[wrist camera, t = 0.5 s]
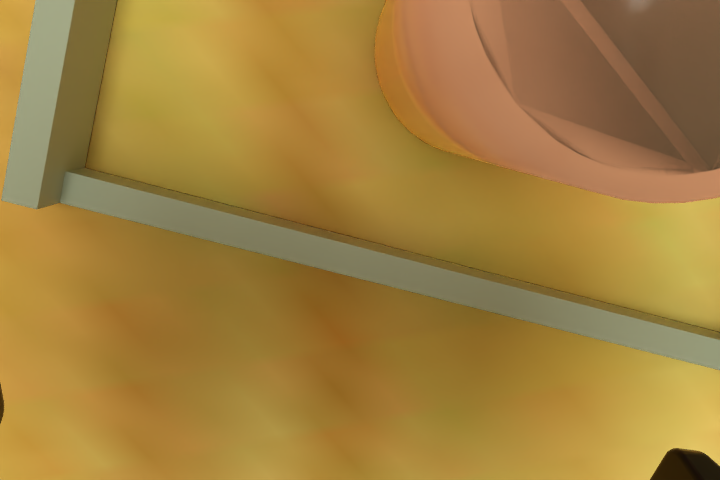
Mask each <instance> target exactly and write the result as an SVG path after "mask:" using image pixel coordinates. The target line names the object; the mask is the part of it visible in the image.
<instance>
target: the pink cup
mask: <svg viewBox="0 0 720 480" xmlns="http://www.w3.org/2000/svg"><path fill="white" fill-rule="evenodd" d="M375 64H376V72H377V76H378V80H379V84H380V87H381V90H382V92H383V94H384V97H385V99H386V101H387V103H388V105H389V106H390V108H391V110H392V112H393V113H394V114H395V115H396V117H397V118H398V119H399V121H400V122H401V123H402V124H403V125H404V126H405V127H406V128H407V129H408V130H409V131H410V132H411V133H412V134H414V135H415V136H416V137H418V138H419V139H420V140H422V141H424V142H425V143H427V144H429V145H431V146H433V147H435V148H437V149H440V150H442V151H445V152H449V153H453V154H456V155H460V156H464V157H467V158H471V159H475V160H478V161H482V162H486V163H489V164H493V165H497V166H500V167H504V168H508V169H511V170H515V171H519V172H522V173H526V174H530V175H533V176H537V177H541V178H544V179H548V180H552V181H555V182H559V183H563V184H567V185H570V186H574V187H578V188H581V189H585V190H589V191H592V192H596V193H600V194H604V195H608V196H611V197H615V198H619V199H623V200H631V201H639V202H648V203H685V202H692V201H698V200H705V199H712V198H717V197H720V0H386V2H385V5H384V7H383V10H382V12H381V15H380V18H379V22H378V26H377V30H376V38H375Z"/></svg>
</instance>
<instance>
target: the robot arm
mask: <svg viewBox="0 0 720 480" xmlns="http://www.w3.org/2000/svg"><path fill="white" fill-rule="evenodd" d="M3 413H4V400H3V395H2V389H1V384H0V423H1V421H2V417H3ZM650 480H720V466H719V465H718V464H717V463H715V462H714V461H713V460H712V459H711V458H710V457H709V456H707V455H706V454H704V453H702V452H700V451H694V450H687V449H679V448H674V449H671V450H670V451H668V452H667V453H666V455H665V456H664V458H663V459H662V461H661V463H660V464H659V466H658V468H657V469H656V471H655V472H654V474H653V476H652V477H651V479H650Z"/></svg>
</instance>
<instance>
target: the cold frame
mask: <svg viewBox="0 0 720 480" xmlns="http://www.w3.org/2000/svg"><path fill="white" fill-rule="evenodd" d="M116 3H117V0H36V1H35V7H34V13H33V19H32V25H31V31H30V36H29V42H28V48H27V54H26V60H25V65H24V71H23V77H22V83H21V89H20V95H19V100H18V106H17V112H16V118H15V124H14V130H13V135H12V141H11V147H10V153H9V159H8V164H7V170H6V176H5V182H4V188H3V194H2V199H1V200H2V201H6V202H10V203H14V204H17V205H21V206H25V207H29V208H33V209H40V208H43V207H47V206H50V205H53V204H57V203H63V204H67V205H71V206H75V207H78V208H82V209H86V210H90V211H94V212H98V213H102V214H106V215H110V216H114V217H118V218H122V219H126V220H130V221H134V222H138V223H142V224H146V225H149V226H153V227H157V228H161V229H165V230H169V231H173V232H177V233H181V234H185V235H189V236H193V237H197V238H201V239H205V240H209V241H213V242H216V243H220V244H224V245H228V246H232V247H236V248H240V249H244V250H248V251H252V252H256V253H260V254H264V255H268V256H272V257H276V258H280V259H284V260H287V261H291V262H295V263H299V264H303V265H307V266H311V267H315V268H319V269H323V270H327V271H331V272H335V273H339V274H343V275H347V276H351V277H354V278H358V279H362V280H366V281H370V282H374V283H378V284H382V285H386V286H390V287H394V288H398V289H402V290H406V291H410V292H414V293H418V294H422V295H425V296H429V297H433V298H437V299H441V300H445V301H449V302H453V303H457V304H461V305H465V306H469V307H473V308H477V309H481V310H485V311H489V312H492V313H496V314H500V315H504V316H508V317H512V318H516V319H520V320H524V321H528V322H532V323H536V324H540V325H544V326H548V327H552V328H556V329H560V330H563V331H567V332H571V333H575V334H579V335H583V336H587V337H591V338H595V339H599V340H603V341H607V342H611V343H615V344H619V345H623V346H627V347H630V348H634V349H638V350H642V351H646V352H650V353H654V354H658V355H662V356H666V357H670V358H674V359H678V360H682V361H686V362H690V363H694V364H698V365H701V366H705V367H709V368H713V369H717V370H720V332H716V331H713V330H709V329H705V328H701V327H697V326H693V325H689V324H686V323H682V322H678V321H674V320H670V319H666V318H662V317H659V316H655V315H651V314H647V313H643V312H639V311H635V310H632V309H628V308H624V307H620V306H616V305H612V304H608V303H605V302H601V301H597V300H593V299H589V298H585V297H581V296H578V295H574V294H570V293H566V292H562V291H558V290H554V289H551V288H547V287H543V286H539V285H535V284H531V283H527V282H524V281H520V280H516V279H512V278H508V277H504V276H500V275H497V274H493V273H489V272H485V271H481V270H477V269H473V268H470V267H466V266H462V265H458V264H454V263H450V262H446V261H443V260H439V259H435V258H431V257H427V256H423V255H419V254H416V253H412V252H408V251H404V250H400V249H396V248H392V247H389V246H385V245H381V244H377V243H373V242H369V241H365V240H362V239H358V238H354V237H350V236H346V235H342V234H338V233H335V232H331V231H327V230H323V229H319V228H315V227H311V226H308V225H304V224H300V223H296V222H292V221H288V220H284V219H281V218H277V217H273V216H269V215H265V214H261V213H257V212H254V211H250V210H246V209H242V208H238V207H234V206H230V205H227V204H223V203H219V202H215V201H211V200H207V199H203V198H200V197H196V196H192V195H188V194H184V193H180V192H176V191H173V190H169V189H165V188H161V187H157V186H153V185H149V184H146V183H142V182H138V181H134V180H130V179H126V178H122V177H119V176H115V175H111V174H107V173H103V172H99V171H95V170H92V169H88V168H85V163H86V158H87V153H88V148H89V143H90V137H91V132H92V127H93V122H94V117H95V112H96V106H97V101H98V96H99V91H100V86H101V81H102V75H103V70H104V65H105V60H106V55H107V50H108V44H109V39H110V34H111V29H112V24H113V19H114V13H115V8H116Z"/></svg>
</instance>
